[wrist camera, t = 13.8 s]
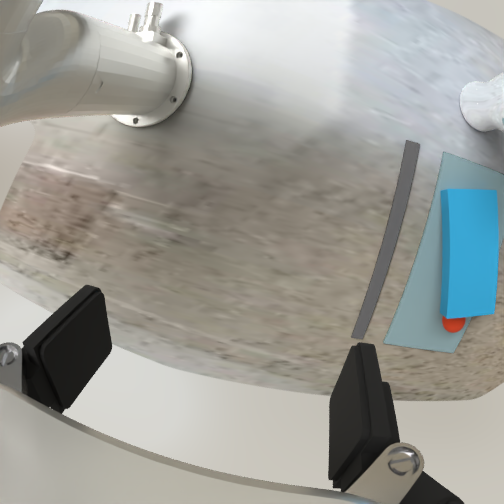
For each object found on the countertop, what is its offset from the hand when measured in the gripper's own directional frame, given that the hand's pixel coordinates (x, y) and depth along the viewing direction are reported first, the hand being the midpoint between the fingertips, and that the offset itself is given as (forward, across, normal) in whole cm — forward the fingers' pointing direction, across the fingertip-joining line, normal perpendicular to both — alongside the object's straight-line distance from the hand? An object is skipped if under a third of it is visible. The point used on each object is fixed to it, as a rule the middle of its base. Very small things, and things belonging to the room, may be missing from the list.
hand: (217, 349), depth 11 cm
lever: (+26, -24, +4) cm, 35 cm away
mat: (+26, -24, +5) cm, 36 cm away
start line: (+27, -14, +5) cm, 30 cm away
